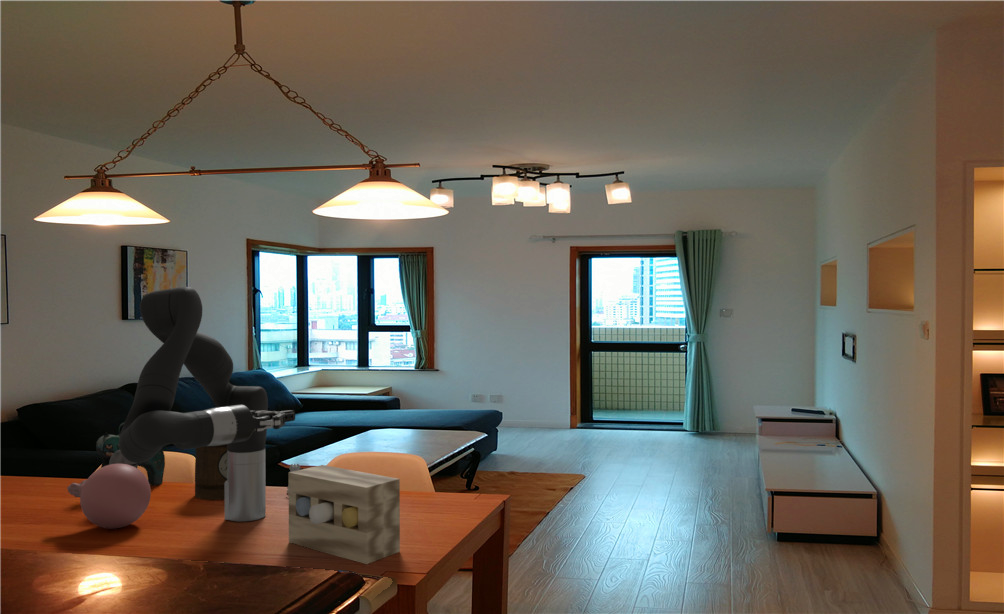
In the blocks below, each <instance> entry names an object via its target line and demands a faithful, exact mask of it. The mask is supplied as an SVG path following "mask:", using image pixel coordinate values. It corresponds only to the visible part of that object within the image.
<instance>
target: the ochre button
mask: <svg viewBox="0 0 1004 614" xmlns="http://www.w3.org/2000/svg"><path fill="white" fill-rule="evenodd" d="M342 521H343V523H344V524H345V526H347V527H353V526H356V525H358V507H354V506H353V507H349V508H346V509H344V510H343V512H342Z"/></svg>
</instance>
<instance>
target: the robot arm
mask: <svg viewBox="0 0 1004 614" xmlns="http://www.w3.org/2000/svg"><path fill="white" fill-rule="evenodd" d="M139 312H140V315H141V318H142V321H143V323H144V324H145V326H146V327H147V329H148V330H149V331H150V332H151V334H152V335H153V336H155V337H156V338H157V339H158V340H159V341H160V342H161V343H162V344H161V346H160V347H159V348H158V349H157V350H156V352H154V354H153V355H152V356H151V357H150V358H149V359H148V360H147V362H146V363H145V365H144V366H143V368H142V370H141V372H140V375H139V378H138V380H137V386H136V390H135V393H134V397H133V398H134V400H133V403H132V404H131V407H130V410H129V411H128V414H127V417H126V419H125V421H124V422H125V423H124V422H123V423H124V424H123V425H122V428H121V430H120V438H119V448H120V451H121V453H122V455H123V456H124V457H125V458H126V459H127V460H129V461H131V462H134V463H141V462H145V461H147V460H149V459H151V458H152V457H153V456H155V455H156V454H157V453H158V452H159V451H160V450H161V449H162V450H163V448H164V447H165V446H168V445H173V446H174V447H175V448H177V449H178V450H179V449H180V450H192V449H196V448H199V447H204V446H218V445H224V444H227V481H225V483H224V500H223V501H224V520H225V521H227V520H228V521H231V522H252V521H257V520H261V519H263V518H265V517H266V511H267V510H266V509H267V508H266V505H267V504H266V499H267V498H266V494H267V493H266V488H267V486H266V441H267V430H268V429H273V430H279V429H281V428H282V427H284V426H285V425H286V423H288V422H294V421H295V420H296V411H295V410H291V409H289V410H287V409H286V410H281V411H276V410H272V411H271V410H269V409H268V408H269V402H268V400H269V399H268V393H267V391H266V389H265V388H264V387H262V386H258V385H256V386H255V385H254V386H253V385H252V386H248V385H243V386H242V385H234V384H232V383H230V380H231V378H232V375H233V373H234V363H233V359H232V356H230V354H229V353H228V351H227V350H226V348H225V347H224V346H223V344H222V343H221V342H220V341H219V340H217V339H216V338H214V337H212V336H210V335H208V334H206V333H202V332H200V331H198V330H199V328H200V325H201V322H202V318H203V303H202V300H201V297H200V295H199V293H198V292H197V290H196V289H195V288H193V287H191V286H179V287H174V288H167V289H161V290H154V291H151V292H148V293H146V294H145V295H143V296H142V298H141V299H140V303H139ZM183 366H185V368H186V369H187V371H188V372H189V374H191V376H192V377H193V378H194V379H195V381H197V382H198V383H199V384H200V386H201V387H202V388H203V390H204V391H205V392H206V393H207V395H208V397H210V399H211V400H212V402H213V404H214V406H215V407H211V408H207V409H204V410H196V411H188V412H179V411H173V410H172V409H173V406H174V403H175V399H176V393H177V388H178V383H179V380H180V379H179V378H180V375H181V372H182V369H183Z"/></svg>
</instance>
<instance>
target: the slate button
mask: <svg viewBox="0 0 1004 614" xmlns="http://www.w3.org/2000/svg"><path fill="white" fill-rule="evenodd" d="M310 508H311V497H308V496H306V497H302V498H299V499H298V500H297V501H296V510H297V512H298V514H299V515H301V516H305V515H308V514H309V510H310Z"/></svg>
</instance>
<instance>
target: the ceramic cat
mask: <svg viewBox="0 0 1004 614" xmlns="http://www.w3.org/2000/svg"><path fill="white" fill-rule="evenodd" d="M124 423H125V421H124V422H122V423H121V424H120V425H119V426H118V434H116V435H115V434H109V433H108V432H105V433H104V435H102V436H100V437H99V438H98V439H97V440H96V446H95V451H96V452H97V455H99V456H100V457H101V458H102V459H101V464H100V465H101V466H100V468H102V467H104V466H107V465H109V461H110V458H111V456H112V455H113V453H115V452H116V451H118V450H120V448H119V438H120V434H121V430H120V428H121V427H123V425H124ZM165 458H166V457H165V453H164V450H163V448H162V449H161V450H160V451H159V452H158V453H157V454H156V455H155V456H153V457H152V458H151V459H149V460H147V461H145V462H141V463H138V467H141V468H143V469H144V470H145V471H146V475H147V476H146V477H147V479H148V482H149V484H150V486H153V487H154V486H155V487H156V486H159V485H163V479H164V472H165V469H166V468H165V466H166V459H165Z"/></svg>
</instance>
